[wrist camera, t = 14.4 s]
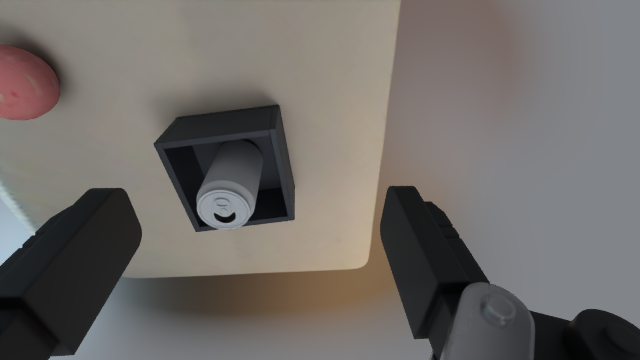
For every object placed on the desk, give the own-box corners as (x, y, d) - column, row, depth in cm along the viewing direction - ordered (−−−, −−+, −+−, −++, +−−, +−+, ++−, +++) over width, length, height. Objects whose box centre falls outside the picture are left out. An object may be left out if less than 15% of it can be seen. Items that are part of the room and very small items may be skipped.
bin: (279, 104, 38) (275, 128, 32) (294, 187, 46) (294, 220, 39) (176, 117, 38) (153, 143, 32) (209, 198, 46) (195, 232, 39)
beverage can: (222, 176, 43) (200, 234, 33) (213, 137, 39) (186, 188, 29) (265, 175, 43) (256, 232, 33) (261, 136, 40) (249, 186, 30)
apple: (48, 114, 37) (-7, 143, 30) (-14, 60, 33) (-92, 80, 26) (90, 86, 35) (42, 110, 29) (30, 26, 31) (-41, 38, 25)
